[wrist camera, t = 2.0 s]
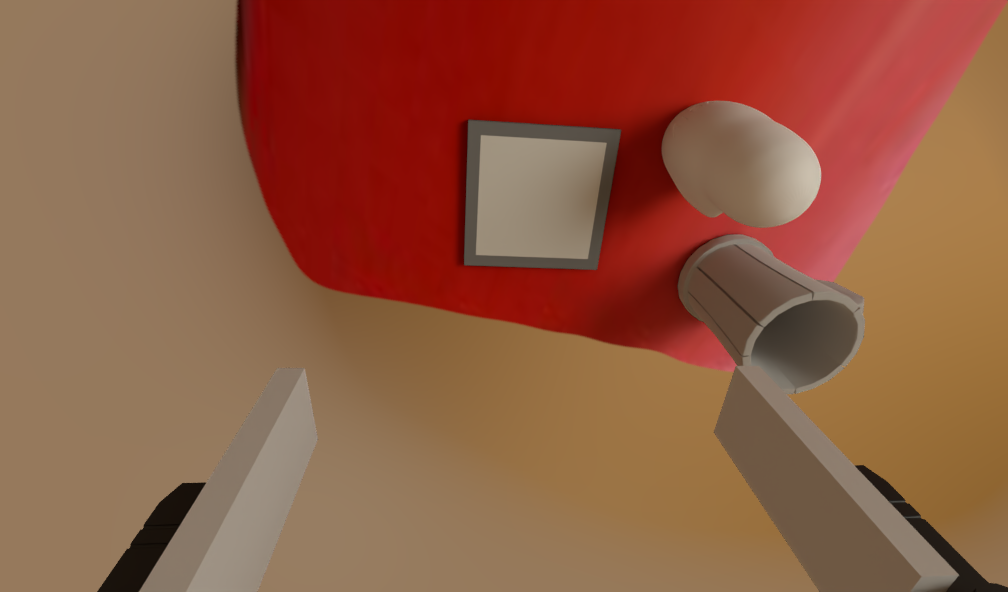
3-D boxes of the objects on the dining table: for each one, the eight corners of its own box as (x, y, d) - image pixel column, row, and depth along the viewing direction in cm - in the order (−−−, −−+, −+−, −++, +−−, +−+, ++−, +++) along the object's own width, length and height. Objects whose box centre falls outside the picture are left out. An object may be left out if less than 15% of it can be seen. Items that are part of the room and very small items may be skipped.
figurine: (679, 208, 40) (755, 262, 29) (640, 133, 37) (710, 164, 26) (755, 160, 39) (865, 198, 28) (721, 78, 35) (830, 86, 25)
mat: (468, 119, 36) (468, 120, 35) (618, 129, 37) (621, 130, 36) (464, 262, 41) (463, 265, 40) (595, 267, 42) (596, 269, 42)
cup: (753, 199, 40) (856, 249, 30) (801, 265, 44) (909, 331, 33) (657, 278, 43) (719, 349, 32) (708, 334, 46) (780, 416, 36)
